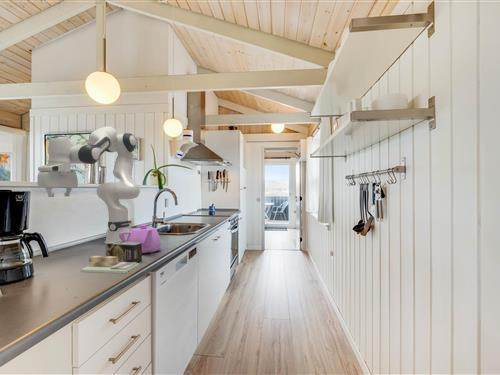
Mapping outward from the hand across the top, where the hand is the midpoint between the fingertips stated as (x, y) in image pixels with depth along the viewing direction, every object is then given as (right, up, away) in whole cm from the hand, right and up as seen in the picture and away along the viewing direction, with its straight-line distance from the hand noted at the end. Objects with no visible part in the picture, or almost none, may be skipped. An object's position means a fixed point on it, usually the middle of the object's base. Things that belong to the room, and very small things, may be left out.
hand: (59, 196), depth 128 cm
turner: (+33, -30, -14) cm, 46 cm away
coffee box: (+25, -27, 0) cm, 37 cm away
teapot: (+35, -31, +16) cm, 50 cm away
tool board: (+33, -31, -14) cm, 47 cm away
